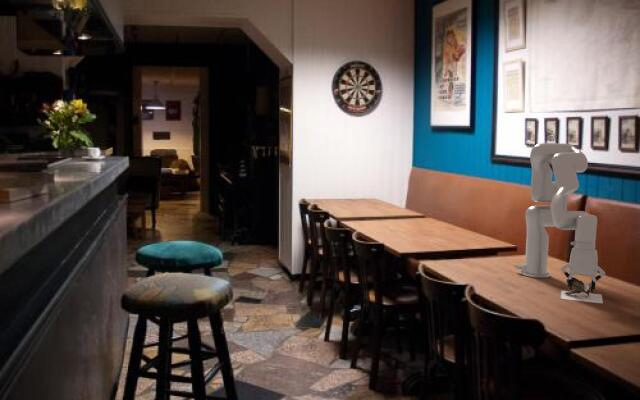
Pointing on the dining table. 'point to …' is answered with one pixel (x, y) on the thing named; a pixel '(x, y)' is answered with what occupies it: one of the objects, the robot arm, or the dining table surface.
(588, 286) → the eagle figurine
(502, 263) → the dining table surface
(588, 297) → the white square panel
